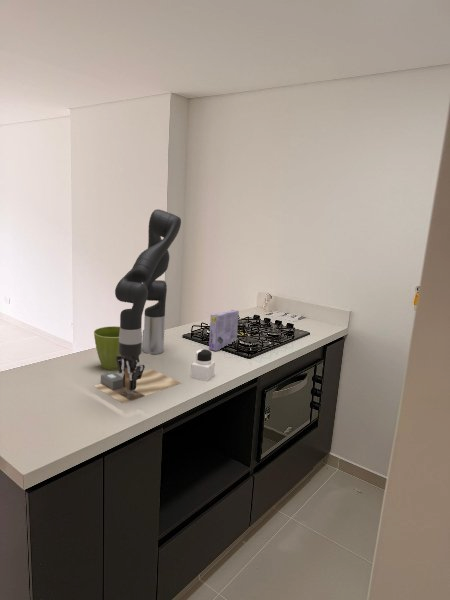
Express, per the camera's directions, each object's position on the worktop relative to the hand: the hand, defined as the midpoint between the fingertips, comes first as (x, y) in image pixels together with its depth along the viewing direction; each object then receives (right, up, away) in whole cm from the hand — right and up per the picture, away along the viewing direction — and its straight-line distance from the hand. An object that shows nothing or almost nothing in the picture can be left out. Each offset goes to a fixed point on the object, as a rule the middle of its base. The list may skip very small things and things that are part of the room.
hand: (129, 387), depth 144 cm
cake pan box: (+32, +7, +63) cm, 71 cm away
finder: (-8, 0, +7) cm, 10 cm away
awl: (0, -3, +1) cm, 3 cm away
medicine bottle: (+24, -1, +20) cm, 32 cm away
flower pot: (-12, +2, +24) cm, 27 cm away
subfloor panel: (+1, -2, +8) cm, 9 cm away
